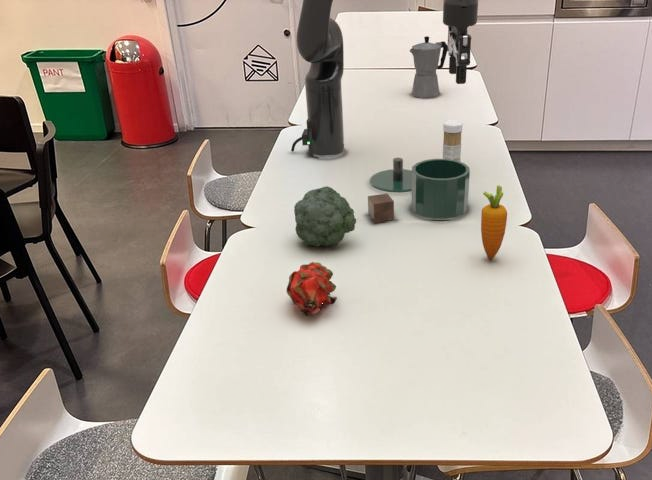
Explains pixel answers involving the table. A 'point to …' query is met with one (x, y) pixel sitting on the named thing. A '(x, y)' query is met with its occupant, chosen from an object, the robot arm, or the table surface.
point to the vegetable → (323, 217)
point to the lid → (393, 178)
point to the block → (381, 208)
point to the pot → (440, 188)
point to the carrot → (493, 223)
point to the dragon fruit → (311, 287)
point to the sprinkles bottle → (452, 140)
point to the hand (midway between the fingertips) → (457, 78)
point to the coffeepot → (427, 67)
